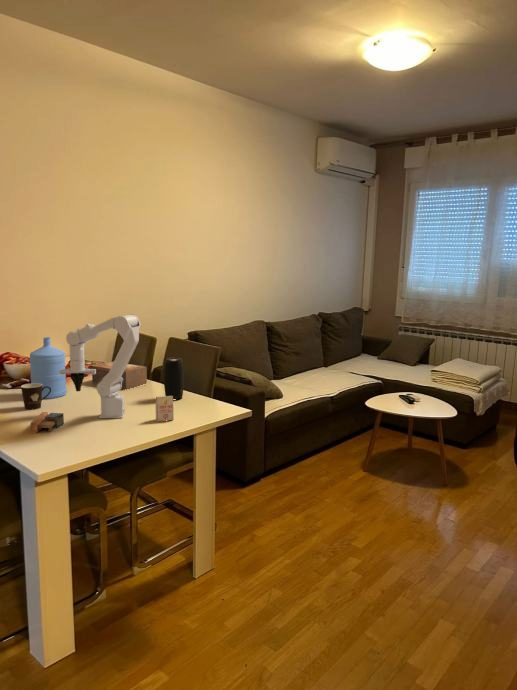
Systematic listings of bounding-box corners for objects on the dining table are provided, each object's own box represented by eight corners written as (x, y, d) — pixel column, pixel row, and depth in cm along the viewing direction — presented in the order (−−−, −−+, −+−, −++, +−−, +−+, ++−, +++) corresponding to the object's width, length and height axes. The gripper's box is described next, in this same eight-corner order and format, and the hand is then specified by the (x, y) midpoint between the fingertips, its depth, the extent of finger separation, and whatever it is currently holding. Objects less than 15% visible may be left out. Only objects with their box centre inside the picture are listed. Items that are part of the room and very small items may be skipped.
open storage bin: (63, 424, 197) (63, 413, 196) (57, 428, 192) (57, 417, 191) (51, 423, 197) (51, 412, 197) (45, 427, 192) (44, 416, 192)
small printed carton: (155, 419, 205) (155, 395, 204) (172, 418, 208) (172, 394, 206) (156, 422, 202) (156, 398, 200) (173, 420, 204) (173, 397, 203)
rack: (61, 421, 200) (60, 411, 200) (50, 432, 186) (50, 422, 186) (42, 421, 199) (42, 412, 199) (31, 433, 186) (30, 422, 185)
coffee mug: (20, 411, 213) (19, 388, 212) (24, 405, 221) (22, 383, 220) (49, 409, 216) (48, 387, 215) (52, 404, 225) (51, 382, 223)
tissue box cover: (146, 385, 266) (146, 366, 264) (126, 390, 253) (126, 371, 252) (113, 379, 279) (112, 361, 277) (92, 383, 267) (91, 365, 265)
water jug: (58, 399, 233) (56, 340, 228) (25, 399, 233) (22, 339, 229) (71, 391, 248) (69, 335, 244) (40, 390, 248) (37, 335, 244)
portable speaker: (187, 399, 238) (187, 358, 235) (169, 402, 232) (169, 360, 229) (178, 395, 245) (178, 356, 242) (161, 398, 239) (160, 358, 236)
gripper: (97, 357, 215) (97, 388, 217) (62, 357, 213) (63, 388, 215) (93, 360, 208) (94, 392, 210) (57, 360, 206) (58, 392, 208)
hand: (78, 390), depth 212 cm, fingers closed
